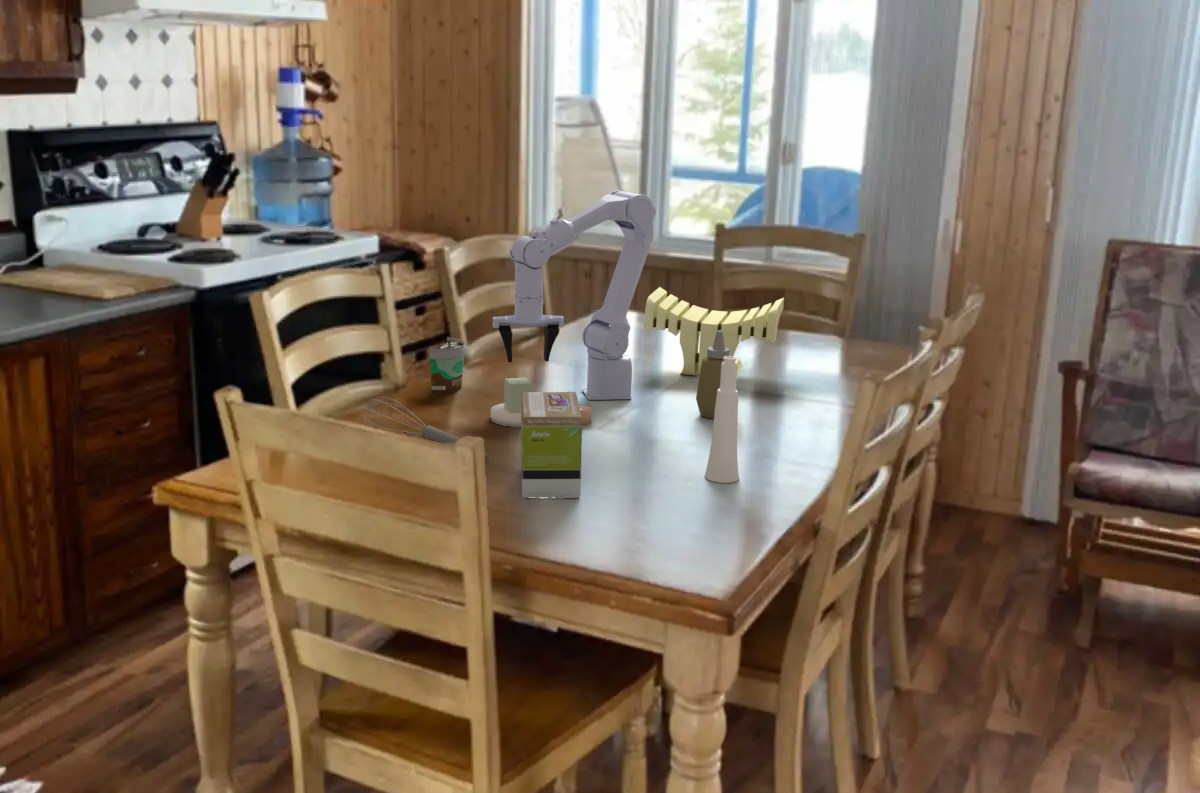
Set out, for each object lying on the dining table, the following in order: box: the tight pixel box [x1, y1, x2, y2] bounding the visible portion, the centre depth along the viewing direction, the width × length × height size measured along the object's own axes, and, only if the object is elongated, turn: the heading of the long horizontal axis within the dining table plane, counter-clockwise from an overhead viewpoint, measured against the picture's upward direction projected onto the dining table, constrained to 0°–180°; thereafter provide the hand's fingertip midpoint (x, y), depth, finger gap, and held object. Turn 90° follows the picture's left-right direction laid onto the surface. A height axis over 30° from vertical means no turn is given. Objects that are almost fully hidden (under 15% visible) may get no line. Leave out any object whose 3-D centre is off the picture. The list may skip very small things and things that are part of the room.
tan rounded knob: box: [579, 404, 593, 427], centre depth 243 cm, size 5×5×3 cm
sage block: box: [503, 377, 533, 413], centre depth 242 cm, size 4×4×6 cm
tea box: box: [520, 391, 583, 499], centre depth 206 cm, size 15×10×15 cm, turn 5°
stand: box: [490, 402, 521, 428], centre depth 243 cm, size 11×11×2 cm
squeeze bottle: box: [695, 331, 730, 420], centre depth 249 cm, size 8×8×18 cm
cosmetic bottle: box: [704, 356, 740, 484], centre depth 211 cm, size 6×6×22 cm
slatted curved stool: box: [643, 286, 785, 377], centre depth 284 cm, size 30×16×18 cm, turn 76°
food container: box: [428, 336, 468, 394], centre depth 262 cm, size 12×6×10 cm, turn 168°
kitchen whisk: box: [362, 396, 491, 463], centre depth 227 cm, size 6×34×6 cm, turn 50°
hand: (527, 360), depth 250 cm, fingers open, 7 cm apart
